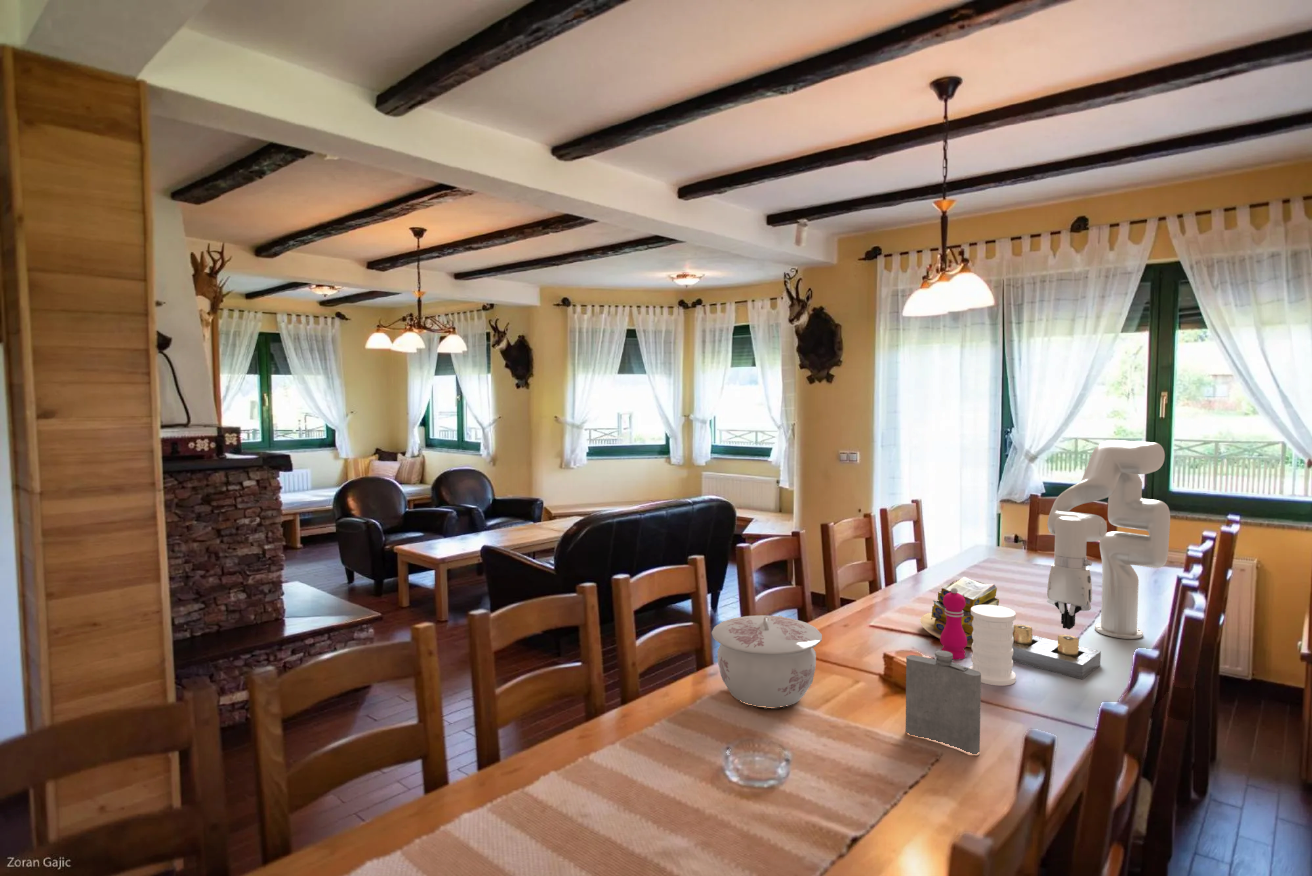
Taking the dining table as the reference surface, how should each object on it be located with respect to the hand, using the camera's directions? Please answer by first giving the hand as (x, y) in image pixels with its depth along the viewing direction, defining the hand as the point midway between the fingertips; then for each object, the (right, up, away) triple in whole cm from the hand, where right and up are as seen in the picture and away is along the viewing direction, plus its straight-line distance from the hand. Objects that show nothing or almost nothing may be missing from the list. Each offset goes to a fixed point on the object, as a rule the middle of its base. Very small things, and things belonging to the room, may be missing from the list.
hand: (1067, 627), depth 198 cm
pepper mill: (-27, -11, +10) cm, 31 cm away
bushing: (0, -11, +1) cm, 11 cm away
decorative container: (-23, -12, -5) cm, 27 cm away
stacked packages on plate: (-17, -10, +27) cm, 34 cm away
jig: (-4, -11, +5) cm, 12 cm away
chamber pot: (-85, -14, -16) cm, 87 cm away
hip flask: (-50, -15, -40) cm, 66 cm away
